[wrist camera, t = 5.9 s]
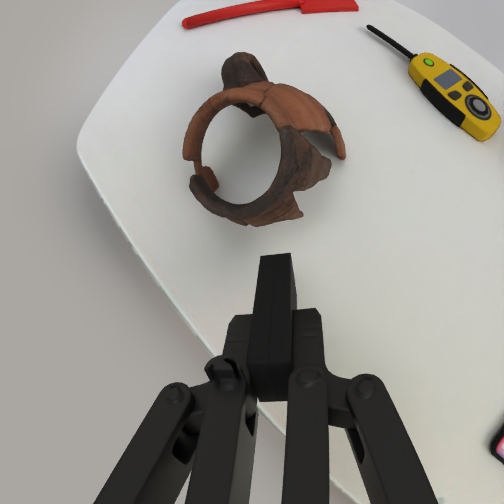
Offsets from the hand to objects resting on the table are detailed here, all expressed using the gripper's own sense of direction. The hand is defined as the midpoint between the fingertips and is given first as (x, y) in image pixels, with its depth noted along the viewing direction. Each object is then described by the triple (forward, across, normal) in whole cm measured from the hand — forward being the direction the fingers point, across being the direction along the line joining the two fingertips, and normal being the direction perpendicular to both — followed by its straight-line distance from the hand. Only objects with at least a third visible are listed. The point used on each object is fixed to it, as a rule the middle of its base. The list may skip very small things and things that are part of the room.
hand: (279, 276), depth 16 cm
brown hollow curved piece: (+9, 0, +4) cm, 10 cm away
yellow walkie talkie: (+14, +14, +9) cm, 22 cm away
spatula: (+22, +2, +17) cm, 28 cm away
